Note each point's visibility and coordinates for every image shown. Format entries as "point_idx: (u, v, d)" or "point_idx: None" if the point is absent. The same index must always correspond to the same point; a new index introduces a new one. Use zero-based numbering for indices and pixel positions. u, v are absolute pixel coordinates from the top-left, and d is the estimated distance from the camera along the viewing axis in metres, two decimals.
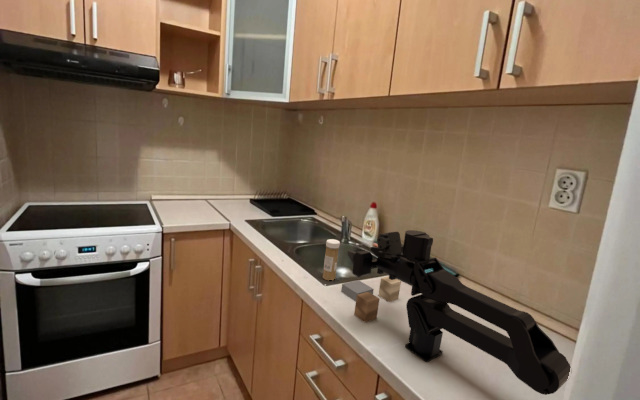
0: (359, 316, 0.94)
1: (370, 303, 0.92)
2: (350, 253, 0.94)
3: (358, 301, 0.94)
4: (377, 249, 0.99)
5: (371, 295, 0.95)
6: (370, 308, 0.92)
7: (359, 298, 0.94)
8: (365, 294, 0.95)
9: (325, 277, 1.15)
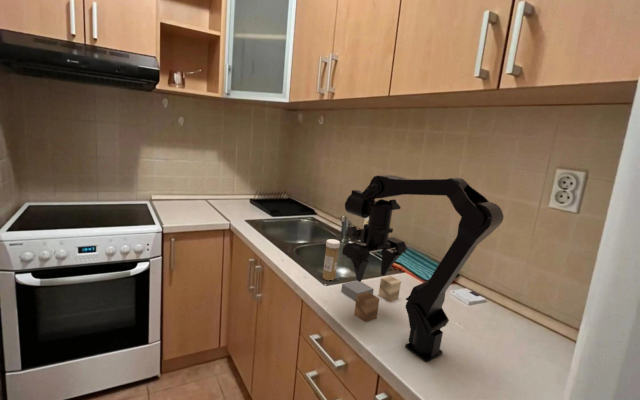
0: (359, 316, 0.94)
1: (370, 303, 0.92)
2: (356, 274, 0.90)
3: (358, 301, 0.94)
4: (382, 265, 0.96)
5: (371, 295, 0.95)
6: (370, 308, 0.92)
7: (359, 298, 0.94)
8: (365, 294, 0.95)
9: (325, 277, 1.15)
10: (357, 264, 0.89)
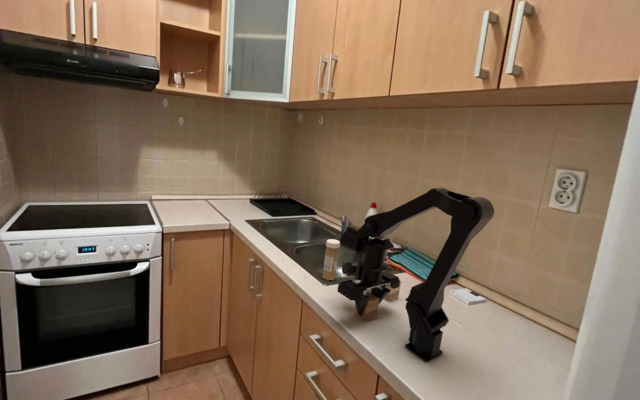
0: (359, 316, 0.94)
1: (370, 303, 0.92)
2: (357, 309, 0.93)
3: None
4: None
5: (371, 295, 0.95)
6: (370, 308, 0.92)
7: None
8: None
9: (325, 277, 1.15)
10: (358, 299, 0.92)
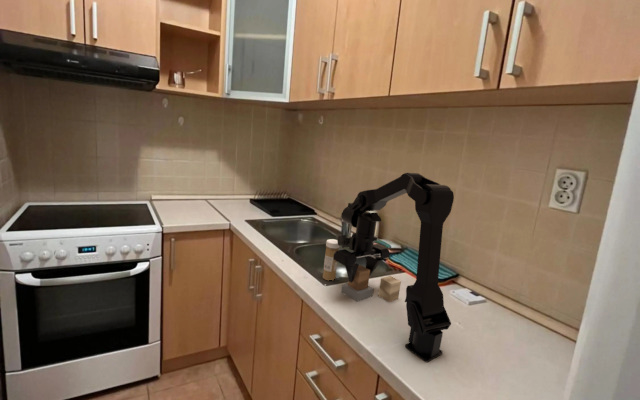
0: (352, 286, 1.06)
1: (362, 274, 1.04)
2: (348, 276, 1.04)
3: None
4: None
5: (363, 267, 1.07)
6: (362, 278, 1.04)
7: None
8: None
9: (325, 277, 1.15)
10: (349, 267, 1.03)
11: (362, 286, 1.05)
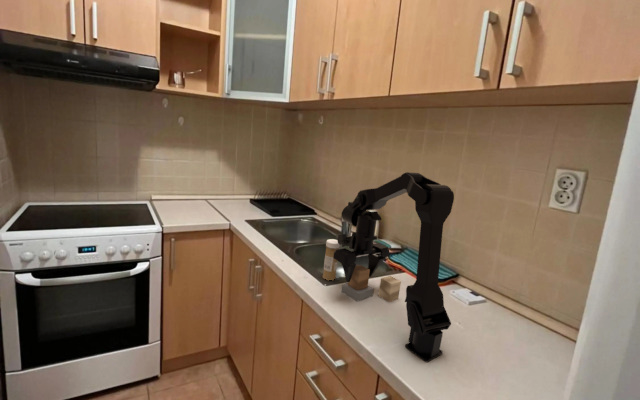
0: (352, 285, 1.06)
1: (362, 273, 1.04)
2: (345, 276, 1.04)
3: None
4: (369, 268, 1.10)
5: (362, 267, 1.07)
6: (362, 277, 1.05)
7: None
8: (357, 266, 1.08)
9: (325, 277, 1.15)
10: (346, 267, 1.03)
11: (362, 285, 1.05)
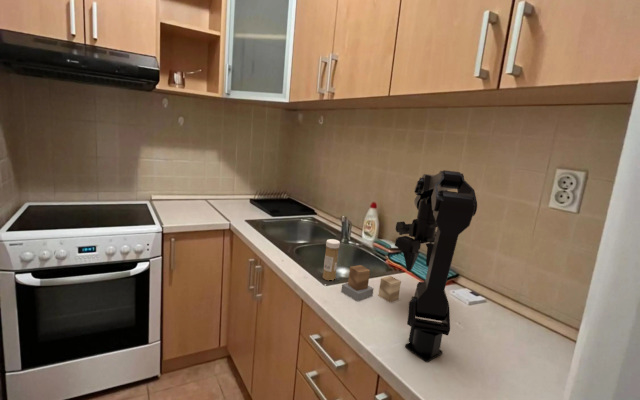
0: (352, 285, 1.06)
1: (361, 274, 1.04)
2: (406, 265, 0.99)
3: (351, 272, 1.07)
4: (427, 257, 1.05)
5: (363, 268, 1.07)
6: (361, 278, 1.05)
7: (352, 269, 1.06)
8: (358, 266, 1.08)
9: (325, 277, 1.15)
10: (408, 255, 0.98)
11: (361, 286, 1.05)
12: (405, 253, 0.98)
